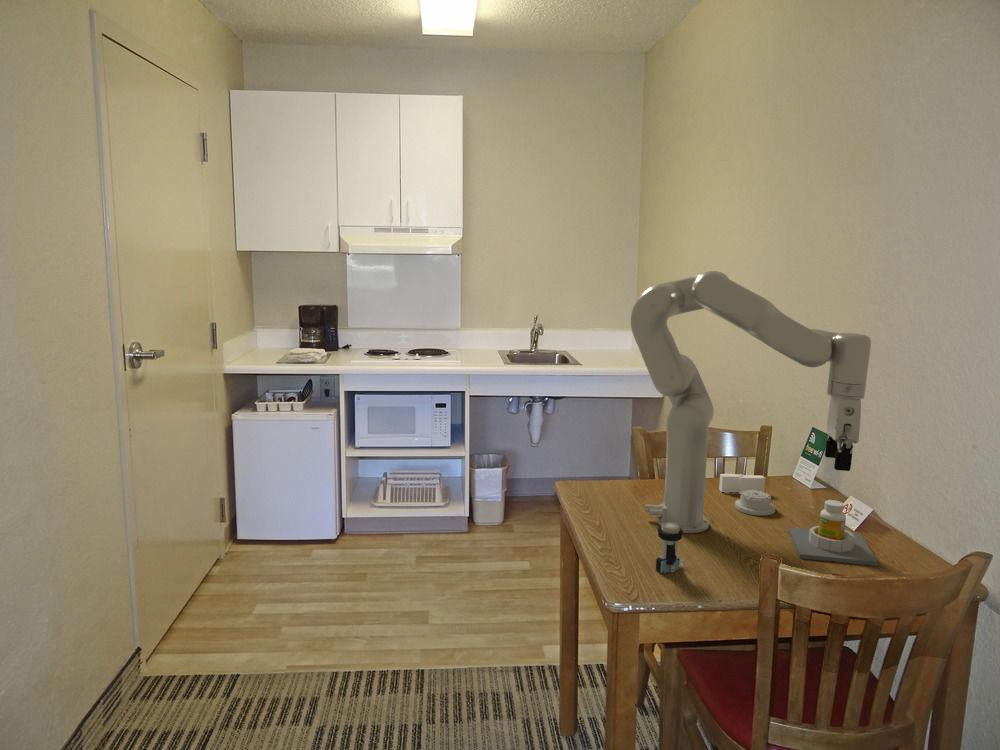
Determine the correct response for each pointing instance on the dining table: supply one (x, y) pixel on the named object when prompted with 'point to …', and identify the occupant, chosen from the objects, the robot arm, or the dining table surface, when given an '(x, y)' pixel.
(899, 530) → the dining table surface
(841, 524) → the supplement bottle
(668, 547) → the push button
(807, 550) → the ring plate
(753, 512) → the mechanical component
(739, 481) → the napkin holder
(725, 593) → the dining table surface
